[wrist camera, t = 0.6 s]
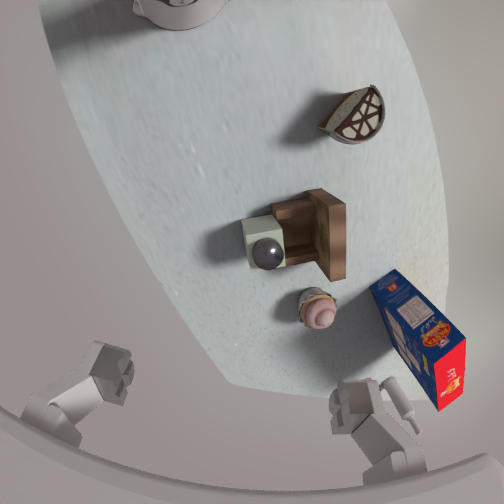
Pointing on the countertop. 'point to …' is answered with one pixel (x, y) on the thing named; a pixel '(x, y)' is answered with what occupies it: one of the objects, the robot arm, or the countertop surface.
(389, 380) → the bottle
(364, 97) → the food container
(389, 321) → the pasta box
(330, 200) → the walnut mount
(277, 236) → the sliding knob
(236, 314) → the countertop surface
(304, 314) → the cupcake
